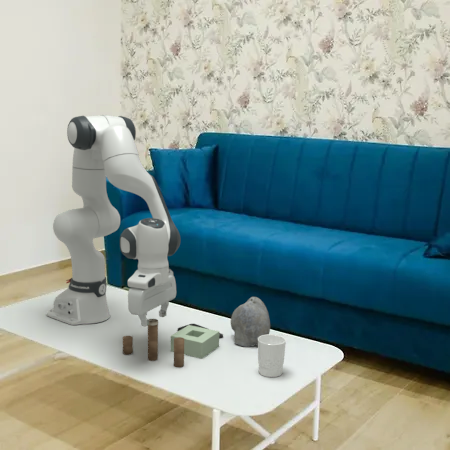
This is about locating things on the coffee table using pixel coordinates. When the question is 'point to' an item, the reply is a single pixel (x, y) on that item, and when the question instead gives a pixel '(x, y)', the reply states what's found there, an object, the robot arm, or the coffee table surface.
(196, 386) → the coffee table surface
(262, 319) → the decorative stone
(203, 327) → the phone
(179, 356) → the pin medium
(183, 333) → the socket block
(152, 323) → the pin long
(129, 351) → the pin short
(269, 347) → the white cup
